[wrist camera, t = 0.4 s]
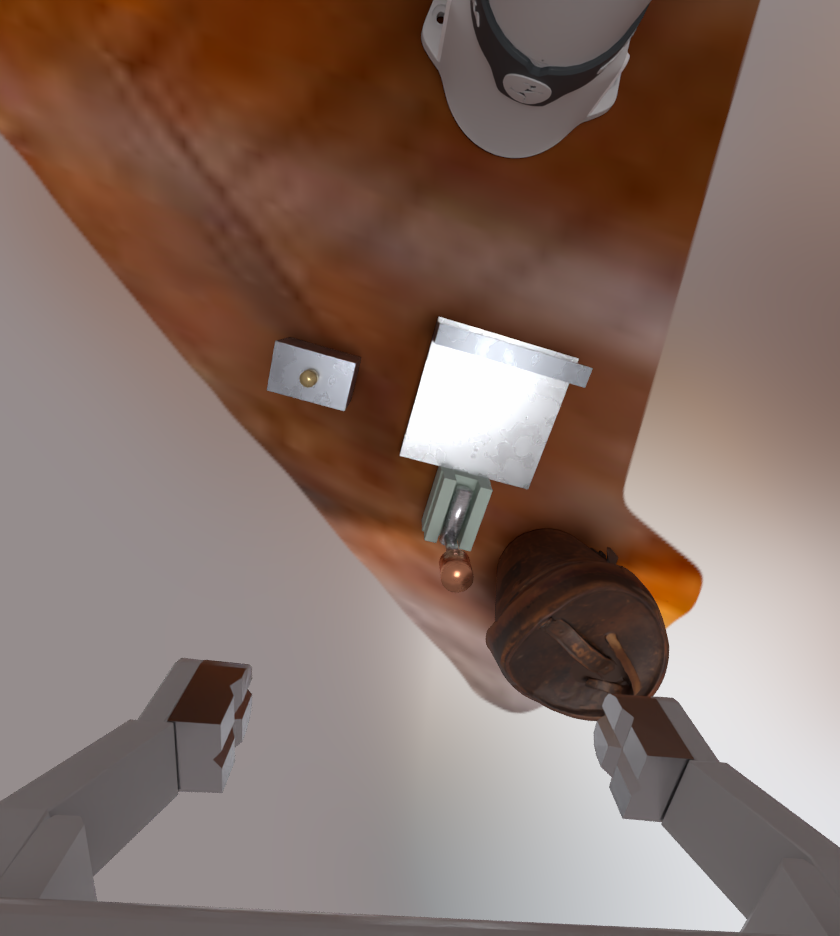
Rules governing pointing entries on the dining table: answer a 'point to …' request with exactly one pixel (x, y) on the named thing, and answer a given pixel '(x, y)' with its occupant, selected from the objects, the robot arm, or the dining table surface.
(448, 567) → the ram
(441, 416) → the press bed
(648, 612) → the case
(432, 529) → the ram guide
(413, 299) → the dining table surface
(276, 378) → the block
